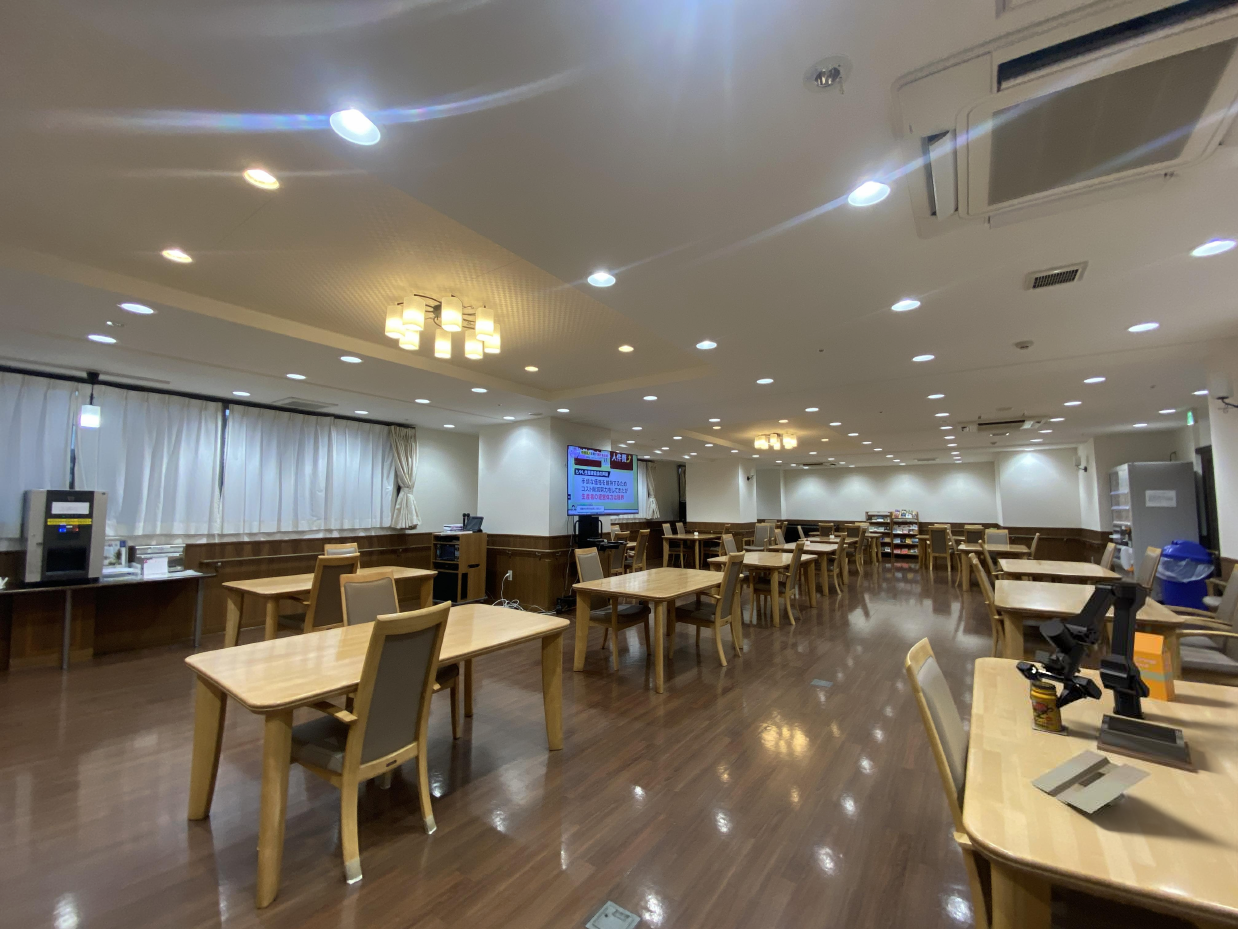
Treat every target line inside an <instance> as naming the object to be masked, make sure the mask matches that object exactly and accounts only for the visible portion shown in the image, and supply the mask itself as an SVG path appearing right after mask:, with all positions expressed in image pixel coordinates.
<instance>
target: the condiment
mask: <svg viewBox="0 0 1238 929" xmlns="http://www.w3.org/2000/svg"><path fill="white" fill-rule="evenodd" d="M1057 693H1058V692H1057V686H1056V685H1055V684H1054V683H1051V682H1047V681H1043V680H1042V681H1033V682H1032V692H1031V698H1032V700H1031V708H1032V713H1033V714H1032V715H1033V718H1031V729H1034V730H1039V731H1042V732H1048V733H1054V734H1060V735H1065V736H1066V735H1067V734H1068V733H1067V725H1066V724H1064V723H1063V721H1062V714H1061V713H1062V712H1061V708H1060V709H1058V708H1056V706H1055V705H1056V702H1057V700H1058V698H1059V696H1060V695H1058V694H1057Z"/></svg>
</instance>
